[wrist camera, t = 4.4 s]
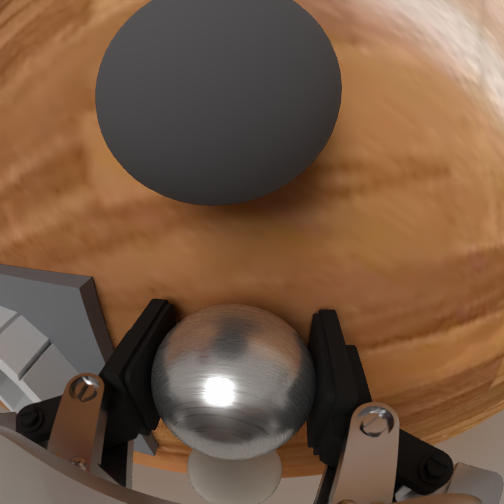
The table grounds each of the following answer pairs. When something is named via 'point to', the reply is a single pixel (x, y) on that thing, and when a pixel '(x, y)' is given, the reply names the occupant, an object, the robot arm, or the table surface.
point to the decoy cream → (234, 478)
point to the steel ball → (233, 381)
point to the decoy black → (218, 97)
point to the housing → (50, 337)
